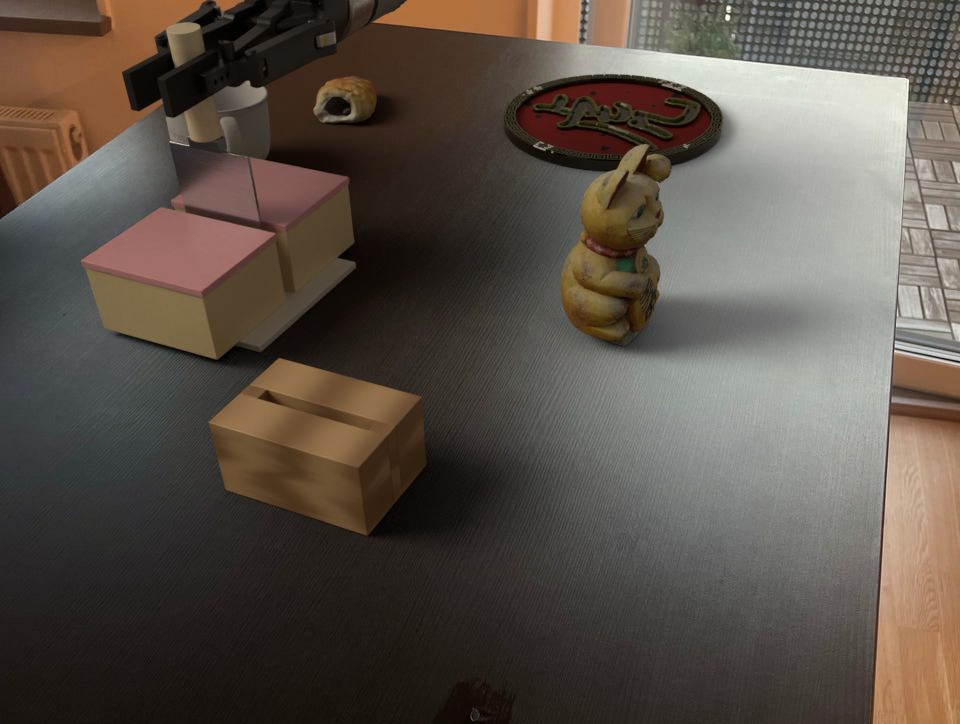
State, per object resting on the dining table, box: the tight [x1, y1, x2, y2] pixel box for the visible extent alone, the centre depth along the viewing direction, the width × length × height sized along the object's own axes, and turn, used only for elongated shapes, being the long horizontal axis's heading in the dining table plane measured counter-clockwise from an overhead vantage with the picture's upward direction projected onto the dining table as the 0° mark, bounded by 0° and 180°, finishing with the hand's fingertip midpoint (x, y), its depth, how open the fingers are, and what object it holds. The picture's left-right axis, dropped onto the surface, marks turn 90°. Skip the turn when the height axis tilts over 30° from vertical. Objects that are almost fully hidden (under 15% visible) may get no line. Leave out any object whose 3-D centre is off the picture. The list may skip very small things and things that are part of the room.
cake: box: [80, 157, 357, 360], centre depth 92 cm, size 16×23×7 cm
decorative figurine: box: [560, 144, 673, 347], centre depth 84 cm, size 10×8×15 cm
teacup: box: [160, 81, 271, 160], centre depth 108 cm, size 14×11×8 cm
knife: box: [165, 22, 263, 230], centre depth 85 cm, size 8×3×17 cm, turn 64°
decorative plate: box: [503, 73, 724, 172], centre depth 118 cm, size 25×1×25 cm
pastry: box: [313, 75, 378, 125], centre depth 121 cm, size 9×7×4 cm
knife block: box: [208, 357, 427, 537], centre depth 74 cm, size 12×9×6 cm
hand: (148, 95), depth 78 cm, fingers closed on knife, 3 cm apart
